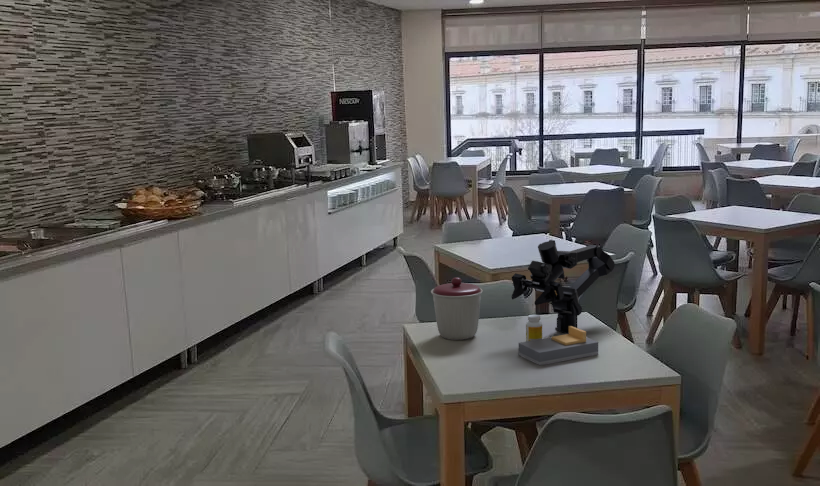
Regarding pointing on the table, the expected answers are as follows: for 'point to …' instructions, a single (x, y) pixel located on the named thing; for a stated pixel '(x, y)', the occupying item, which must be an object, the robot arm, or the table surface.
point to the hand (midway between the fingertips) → (523, 301)
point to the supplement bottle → (533, 328)
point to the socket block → (556, 350)
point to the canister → (457, 309)
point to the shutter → (571, 336)
